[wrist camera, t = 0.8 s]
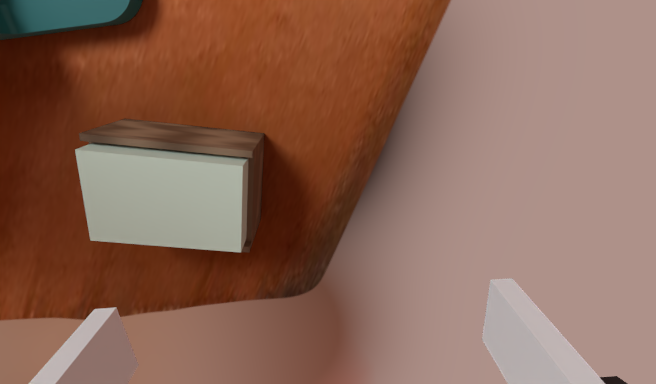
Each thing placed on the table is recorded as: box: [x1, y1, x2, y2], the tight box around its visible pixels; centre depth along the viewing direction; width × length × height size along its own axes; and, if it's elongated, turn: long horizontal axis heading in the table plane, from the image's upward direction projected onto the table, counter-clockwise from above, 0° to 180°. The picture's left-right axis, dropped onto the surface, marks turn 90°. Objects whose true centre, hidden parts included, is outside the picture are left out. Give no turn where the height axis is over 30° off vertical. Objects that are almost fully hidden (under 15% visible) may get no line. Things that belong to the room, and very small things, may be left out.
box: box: [79, 119, 264, 252], centre depth 33 cm, size 14×10×7 cm
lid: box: [75, 142, 248, 253], centre depth 29 cm, size 13×8×2 cm, turn 83°
